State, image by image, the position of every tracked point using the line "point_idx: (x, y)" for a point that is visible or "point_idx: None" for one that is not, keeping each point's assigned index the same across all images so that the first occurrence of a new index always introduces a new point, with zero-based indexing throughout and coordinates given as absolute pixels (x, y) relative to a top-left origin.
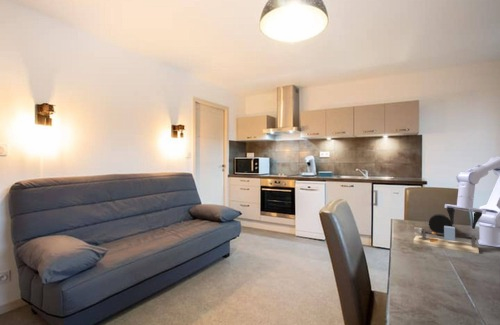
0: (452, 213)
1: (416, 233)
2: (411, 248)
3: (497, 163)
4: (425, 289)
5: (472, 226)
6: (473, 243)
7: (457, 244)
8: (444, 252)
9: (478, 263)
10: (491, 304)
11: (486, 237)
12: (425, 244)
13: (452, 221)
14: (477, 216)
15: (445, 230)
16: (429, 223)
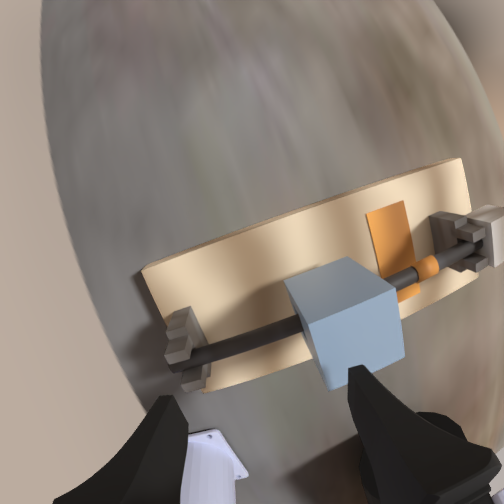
0: (408, 460)
1: (484, 209)
2: (409, 51)
3: None
4: None
5: (165, 408)
6: (179, 319)
7: (270, 290)
8: (279, 106)
9: (97, 76)
10: None
11: (189, 467)
12: (406, 173)
13: (361, 386)
14: (83, 497)
15: (371, 281)
16: (459, 430)
